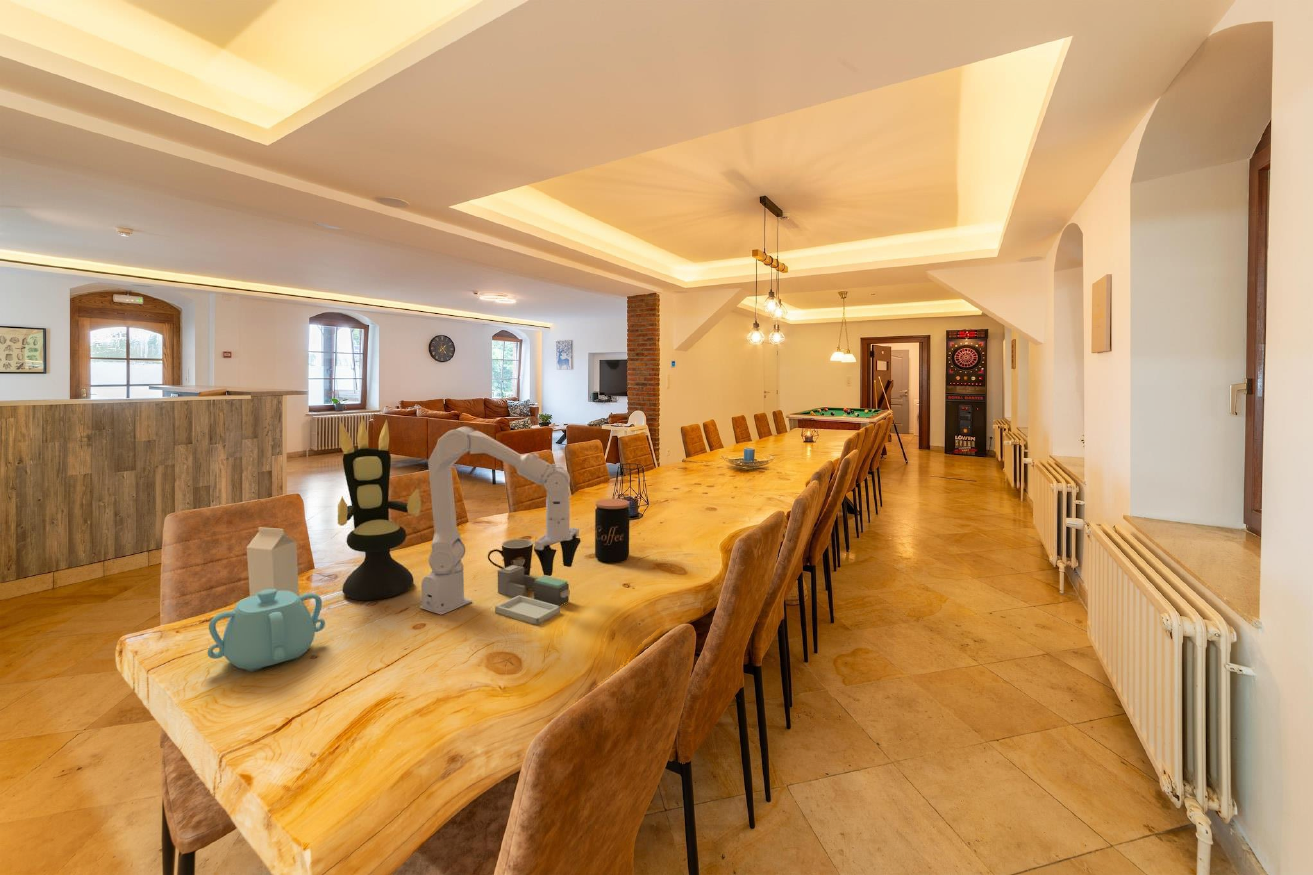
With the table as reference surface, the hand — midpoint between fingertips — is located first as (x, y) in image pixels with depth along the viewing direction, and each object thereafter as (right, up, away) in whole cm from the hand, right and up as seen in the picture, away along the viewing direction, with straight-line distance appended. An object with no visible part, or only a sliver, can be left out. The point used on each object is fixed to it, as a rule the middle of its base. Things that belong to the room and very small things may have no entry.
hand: (557, 570), depth 140 cm
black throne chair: (-50, -7, +9) cm, 51 cm away
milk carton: (-69, -8, -2) cm, 69 cm away
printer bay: (-11, -7, +7) cm, 15 cm away
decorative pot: (-53, -11, -28) cm, 60 cm away
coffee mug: (-16, -7, +18) cm, 25 cm away
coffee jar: (+11, -5, +36) cm, 38 cm away
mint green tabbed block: (-2, -8, +2) cm, 9 cm away
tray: (-6, -9, -5) cm, 12 cm away
